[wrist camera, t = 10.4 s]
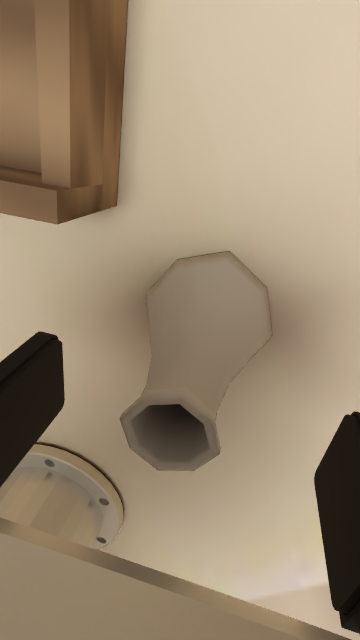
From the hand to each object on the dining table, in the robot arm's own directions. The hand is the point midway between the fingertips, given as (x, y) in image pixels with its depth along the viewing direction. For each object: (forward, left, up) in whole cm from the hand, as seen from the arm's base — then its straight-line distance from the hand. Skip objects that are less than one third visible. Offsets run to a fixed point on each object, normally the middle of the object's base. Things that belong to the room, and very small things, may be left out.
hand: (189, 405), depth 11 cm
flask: (-1, 0, -9) cm, 9 cm away
